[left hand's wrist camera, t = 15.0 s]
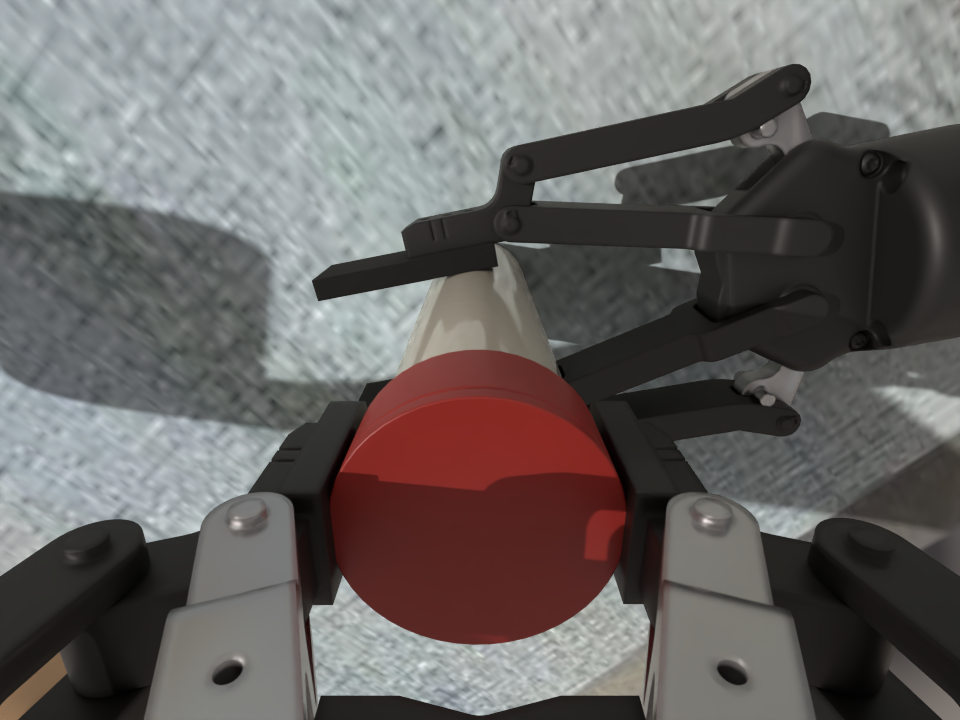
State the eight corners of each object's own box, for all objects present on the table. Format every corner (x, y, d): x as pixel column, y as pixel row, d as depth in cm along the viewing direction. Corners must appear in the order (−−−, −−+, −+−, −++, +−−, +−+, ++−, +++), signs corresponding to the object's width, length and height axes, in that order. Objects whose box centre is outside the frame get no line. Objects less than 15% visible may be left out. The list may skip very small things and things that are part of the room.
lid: (650, 428, 11) (691, 493, 9) (512, 594, 12) (519, 683, 10) (434, 298, 10) (422, 336, 8) (313, 495, 11) (276, 571, 9)
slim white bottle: (509, 339, 27) (557, 627, 11) (424, 316, 27) (332, 579, 10) (535, 254, 26) (640, 433, 9) (446, 229, 25) (380, 367, 9)
